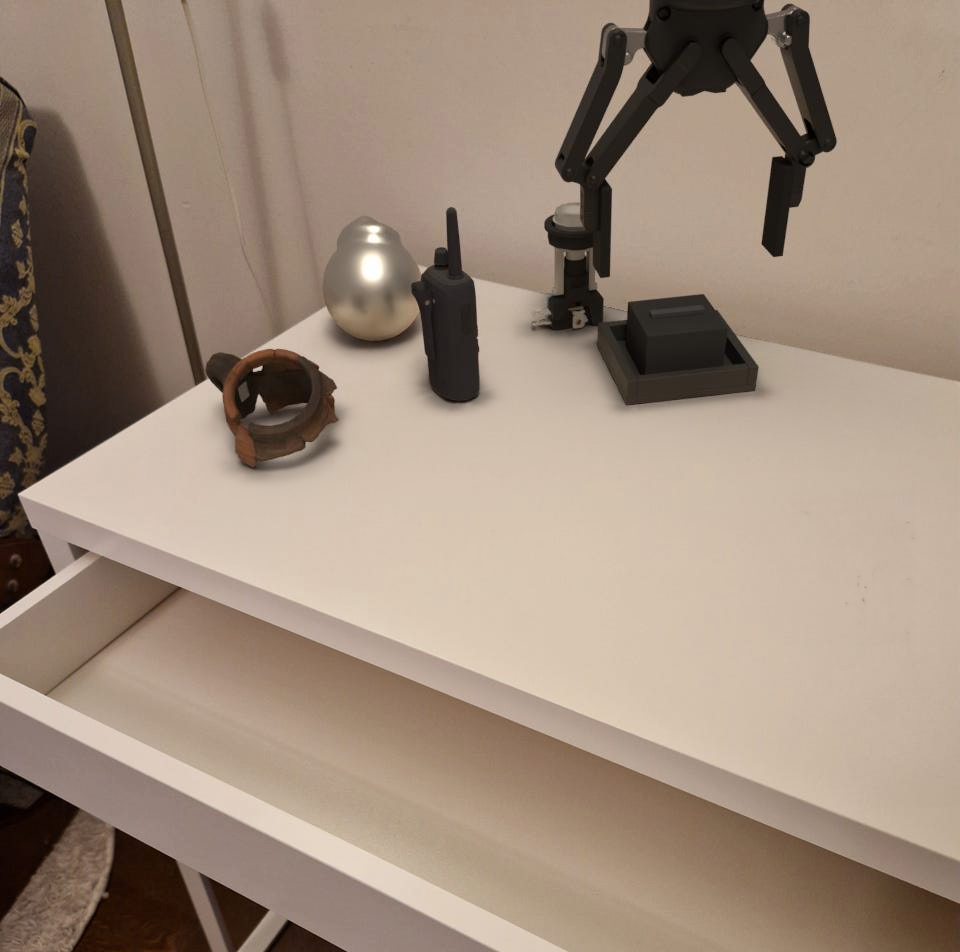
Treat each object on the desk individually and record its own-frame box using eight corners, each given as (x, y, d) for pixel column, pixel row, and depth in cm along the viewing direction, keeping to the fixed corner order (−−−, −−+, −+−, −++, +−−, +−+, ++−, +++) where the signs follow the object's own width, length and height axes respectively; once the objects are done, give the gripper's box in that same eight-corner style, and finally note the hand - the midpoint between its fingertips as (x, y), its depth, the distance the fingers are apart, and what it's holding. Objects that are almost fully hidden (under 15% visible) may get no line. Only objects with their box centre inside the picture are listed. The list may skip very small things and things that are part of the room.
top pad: (699, 338, 86) (704, 288, 83) (722, 374, 82) (728, 322, 79) (625, 346, 86) (627, 296, 83) (644, 382, 81) (648, 331, 78)
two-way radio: (488, 398, 82) (479, 209, 72) (440, 414, 80) (424, 224, 70) (456, 371, 85) (442, 188, 75) (409, 386, 84) (389, 201, 74)
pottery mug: (372, 419, 81) (356, 363, 73) (311, 514, 79) (287, 467, 71) (248, 359, 83) (219, 298, 75) (185, 450, 81) (149, 397, 73)
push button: (539, 342, 88) (539, 227, 82) (523, 317, 92) (521, 205, 86) (611, 330, 89) (616, 216, 83) (592, 306, 93) (596, 195, 87)
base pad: (714, 332, 88) (717, 309, 87) (755, 390, 81) (759, 366, 79) (596, 345, 88) (597, 322, 86) (626, 405, 80) (627, 381, 78)
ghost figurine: (442, 315, 93) (434, 205, 87) (407, 363, 87) (394, 247, 80) (353, 307, 96) (338, 199, 89) (312, 352, 89) (292, 240, 82)
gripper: (528, -42, 60) (537, 299, 74) (928, -83, 62) (862, 260, 76) (509, -61, 66) (520, 260, 80) (876, -98, 67) (823, 224, 81)
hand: (686, 260), depth 78 cm, fingers open, 13 cm apart
